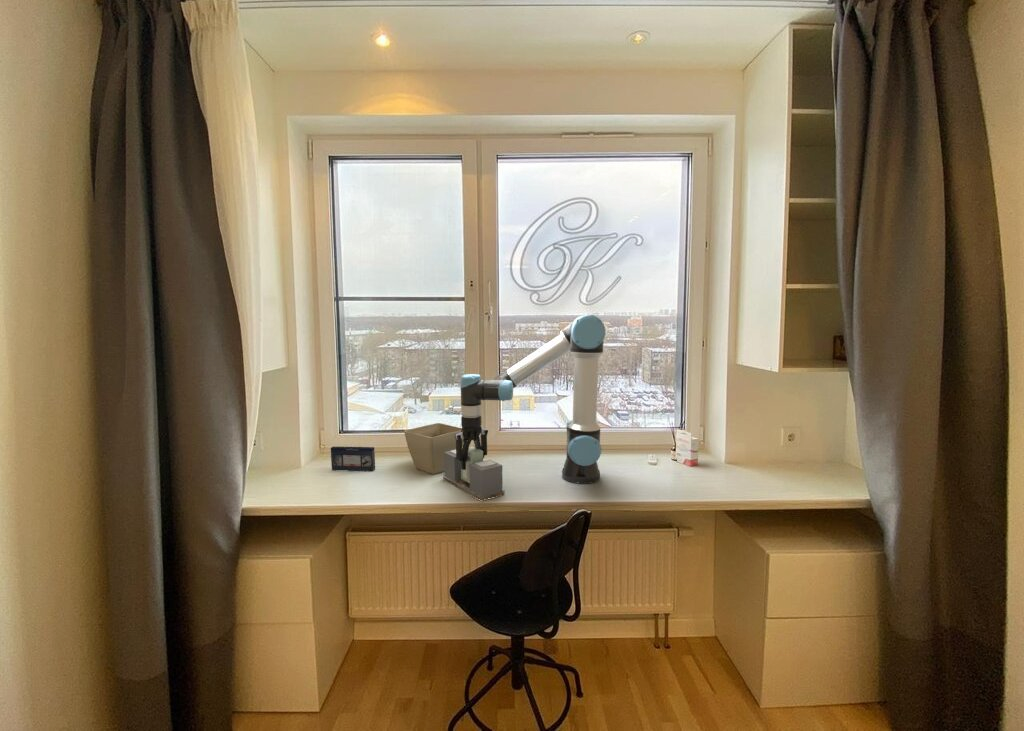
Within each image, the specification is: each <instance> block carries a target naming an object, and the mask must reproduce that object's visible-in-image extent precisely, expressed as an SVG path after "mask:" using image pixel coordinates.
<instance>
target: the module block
mask: <svg viewBox="0 0 1024 731" xmlns="http://www.w3.org/2000/svg"><path fill="white" fill-rule="evenodd" d="M466 461H468V479H466V478H465V477H463V469H461V479H463V480H464V481H466V482H468V483H470V473H469V464H474V463H478V462H482V461H484V458H483V451H482V450H480V449H477V448H475V446H474V445H469V450H468V455H467V460H466Z"/></svg>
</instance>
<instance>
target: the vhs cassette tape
mask: <svg viewBox="0 0 1024 731" xmlns="http://www.w3.org/2000/svg"><path fill="white" fill-rule="evenodd" d="M375 453H376V452H375V446H331V447H330V459H331V460H330V462H331V471H336V470H348V471H347V472H374V471H376V458H375V457H376V456H375Z"/></svg>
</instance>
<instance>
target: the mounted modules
mask: <svg viewBox="0 0 1024 731" xmlns="http://www.w3.org/2000/svg"><path fill="white" fill-rule="evenodd" d="M444 462H445V471H444V475H445V476H447V477H449V478H451V479H452V480H454V481H457V482H458V481H462V480H463V479H461V461H459V460H457V459H456V450H451V451H448V452H444ZM469 473H470V490H472V491H473V492H475V493H477V494H479V495H480V496H484V497H487V496H490V495H494V494H497V493H501V491H502V490H504V489H503V486H504V485H503V483H504V482H503V465H502V464H501V463H498V462H496V461H494V460H492V459H487V460H483V461H482V462H478V463H474V464H469Z"/></svg>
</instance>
